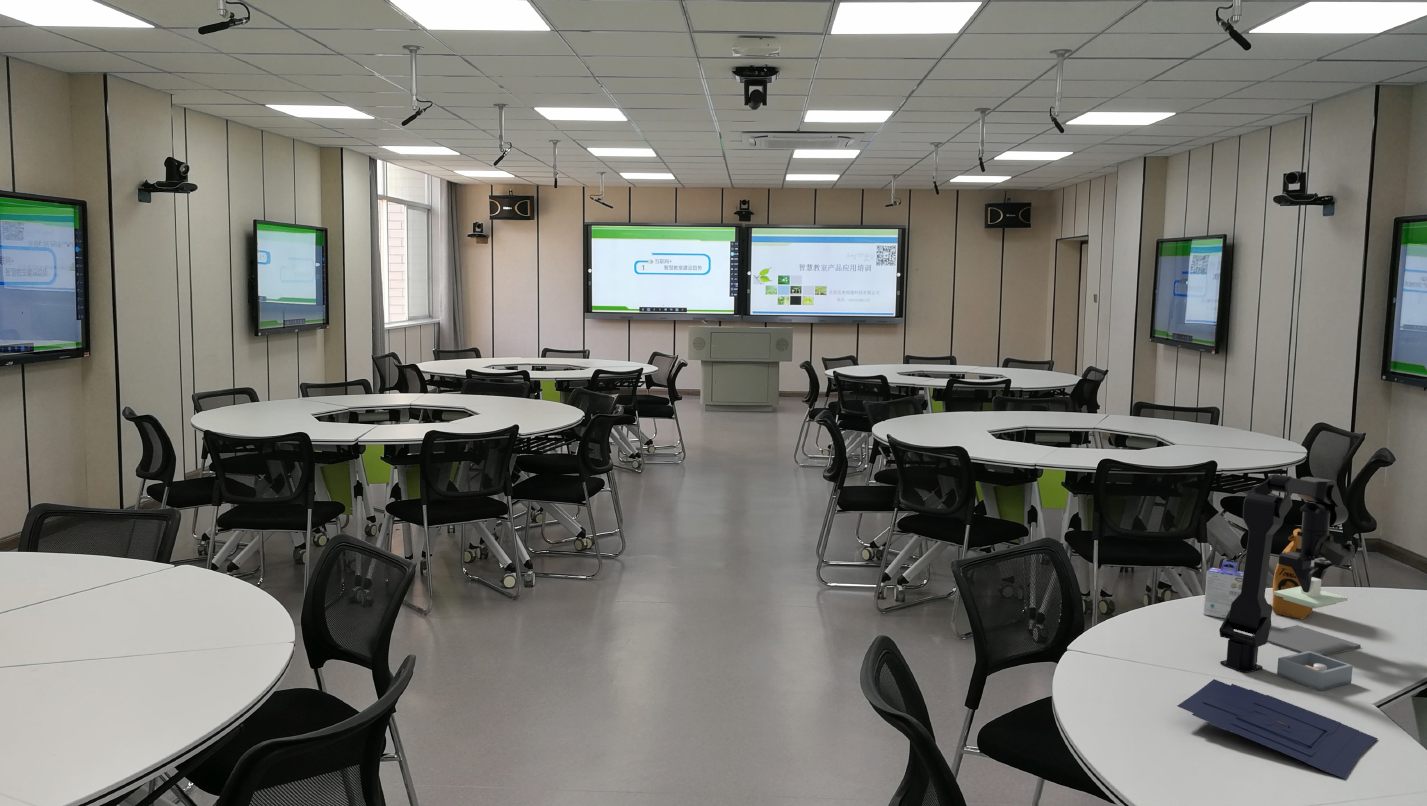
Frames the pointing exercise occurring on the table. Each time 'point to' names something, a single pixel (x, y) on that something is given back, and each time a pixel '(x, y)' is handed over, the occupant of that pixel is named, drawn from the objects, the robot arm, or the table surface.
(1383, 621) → the table surface
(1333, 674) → the storage box
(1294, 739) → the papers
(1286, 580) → the coffee package
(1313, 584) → the lid
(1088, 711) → the table surface
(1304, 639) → the rubber mat
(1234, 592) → the ink cartridge box
